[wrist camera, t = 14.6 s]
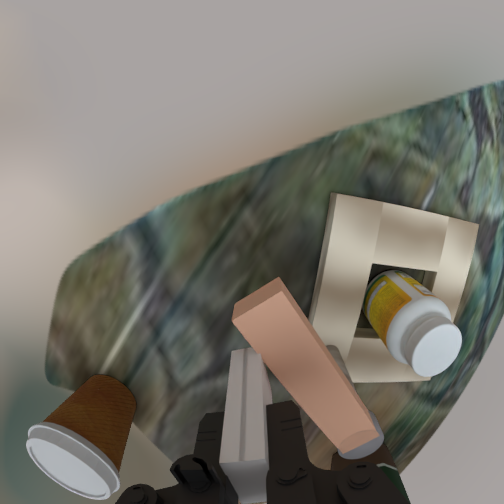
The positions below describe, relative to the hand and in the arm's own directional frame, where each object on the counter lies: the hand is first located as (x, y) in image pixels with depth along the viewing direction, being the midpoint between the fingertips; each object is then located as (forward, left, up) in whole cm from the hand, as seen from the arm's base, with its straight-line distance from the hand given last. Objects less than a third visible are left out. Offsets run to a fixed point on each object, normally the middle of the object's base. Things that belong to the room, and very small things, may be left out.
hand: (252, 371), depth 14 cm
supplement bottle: (0, -12, -12) cm, 17 cm away
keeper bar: (-1, -4, -1) cm, 4 cm away
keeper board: (0, -12, -12) cm, 17 cm away
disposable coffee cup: (-16, +14, -12) cm, 24 cm away
